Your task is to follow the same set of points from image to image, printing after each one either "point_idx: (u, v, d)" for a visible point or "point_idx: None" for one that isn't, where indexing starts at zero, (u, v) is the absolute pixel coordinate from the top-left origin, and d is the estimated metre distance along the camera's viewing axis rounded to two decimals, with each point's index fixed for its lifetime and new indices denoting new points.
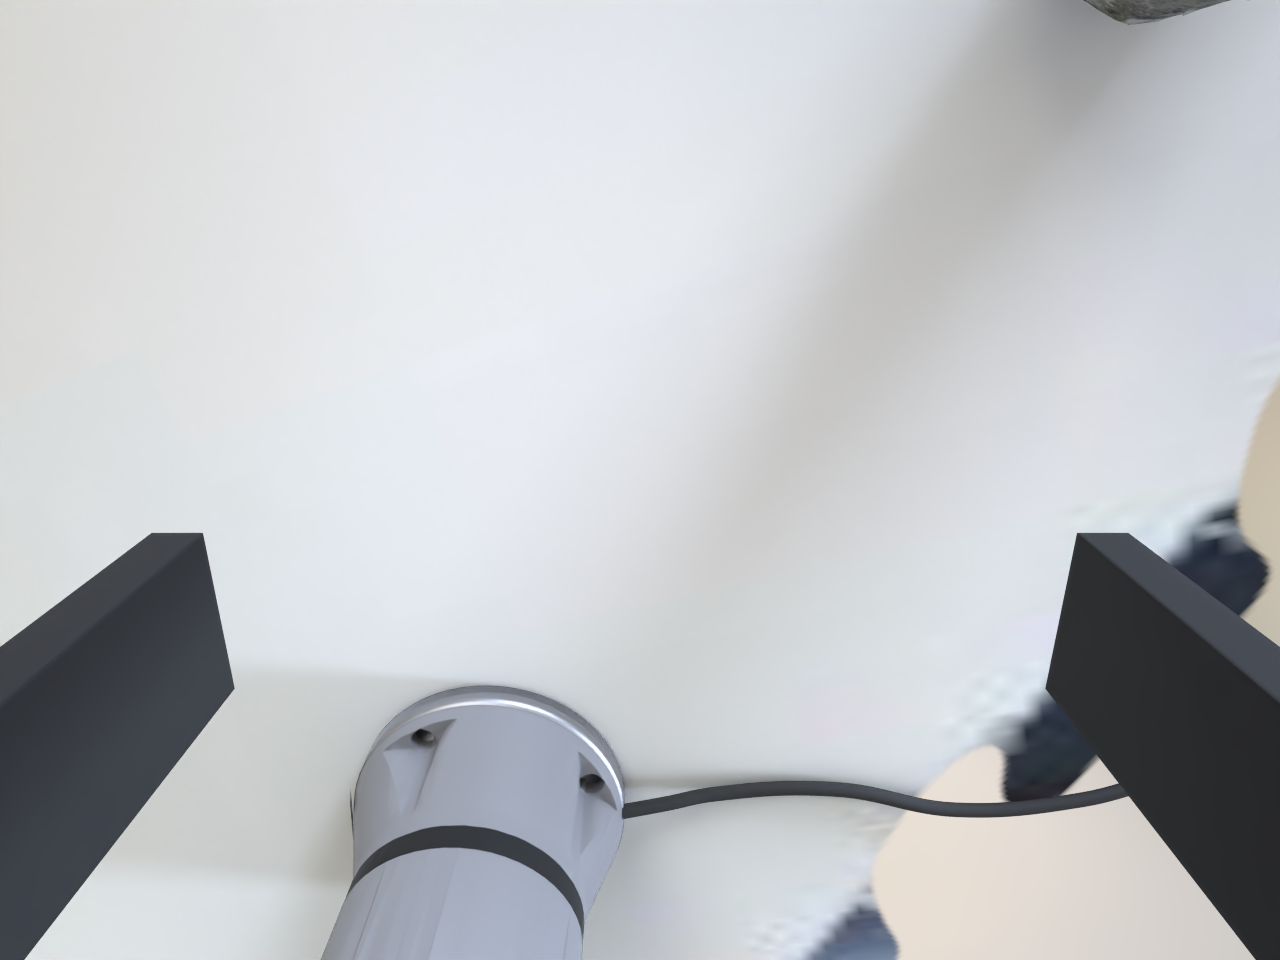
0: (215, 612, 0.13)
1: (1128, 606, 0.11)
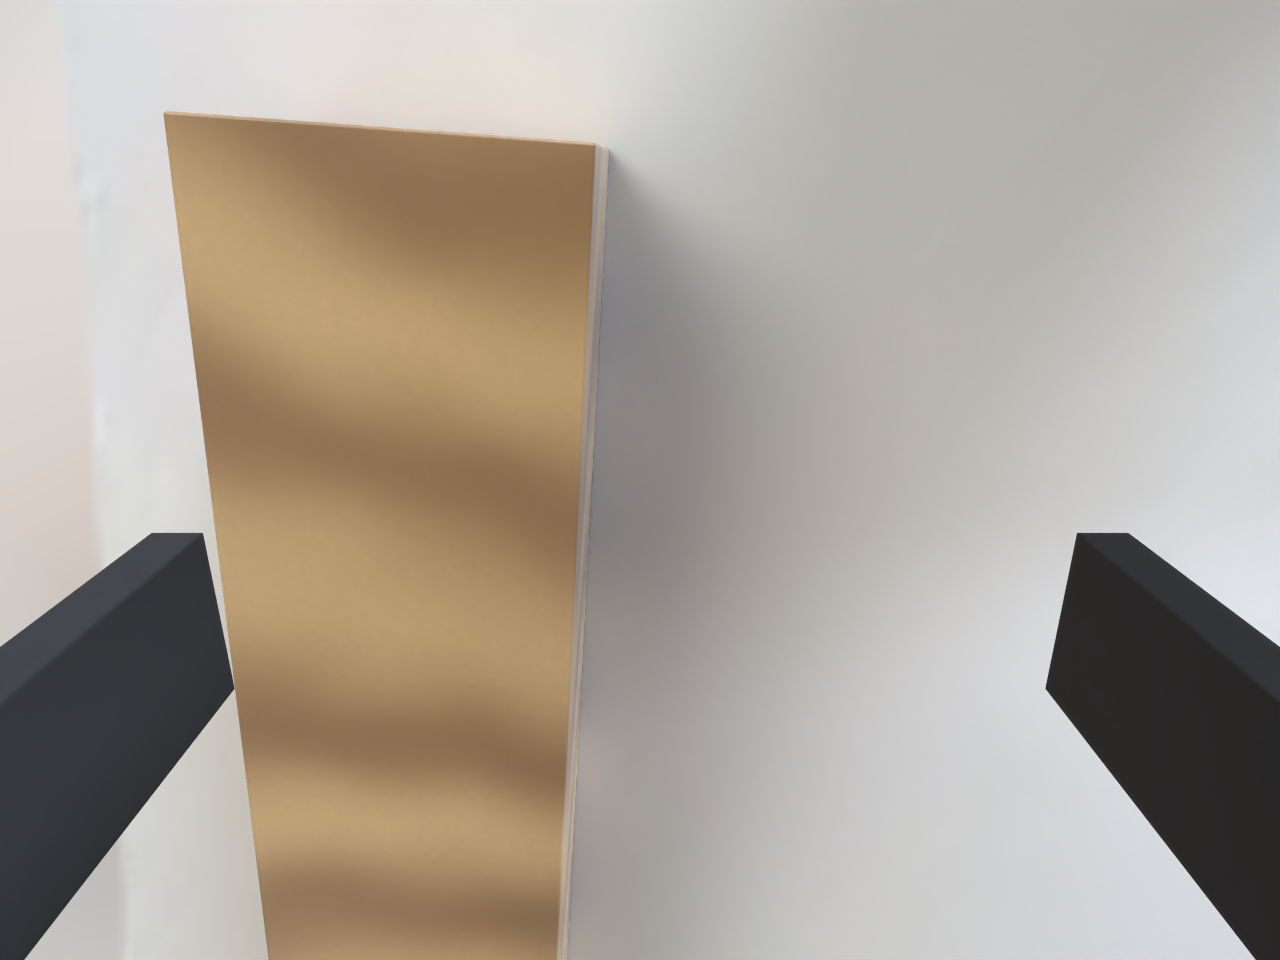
0: (215, 612, 0.13)
1: (1127, 605, 0.11)
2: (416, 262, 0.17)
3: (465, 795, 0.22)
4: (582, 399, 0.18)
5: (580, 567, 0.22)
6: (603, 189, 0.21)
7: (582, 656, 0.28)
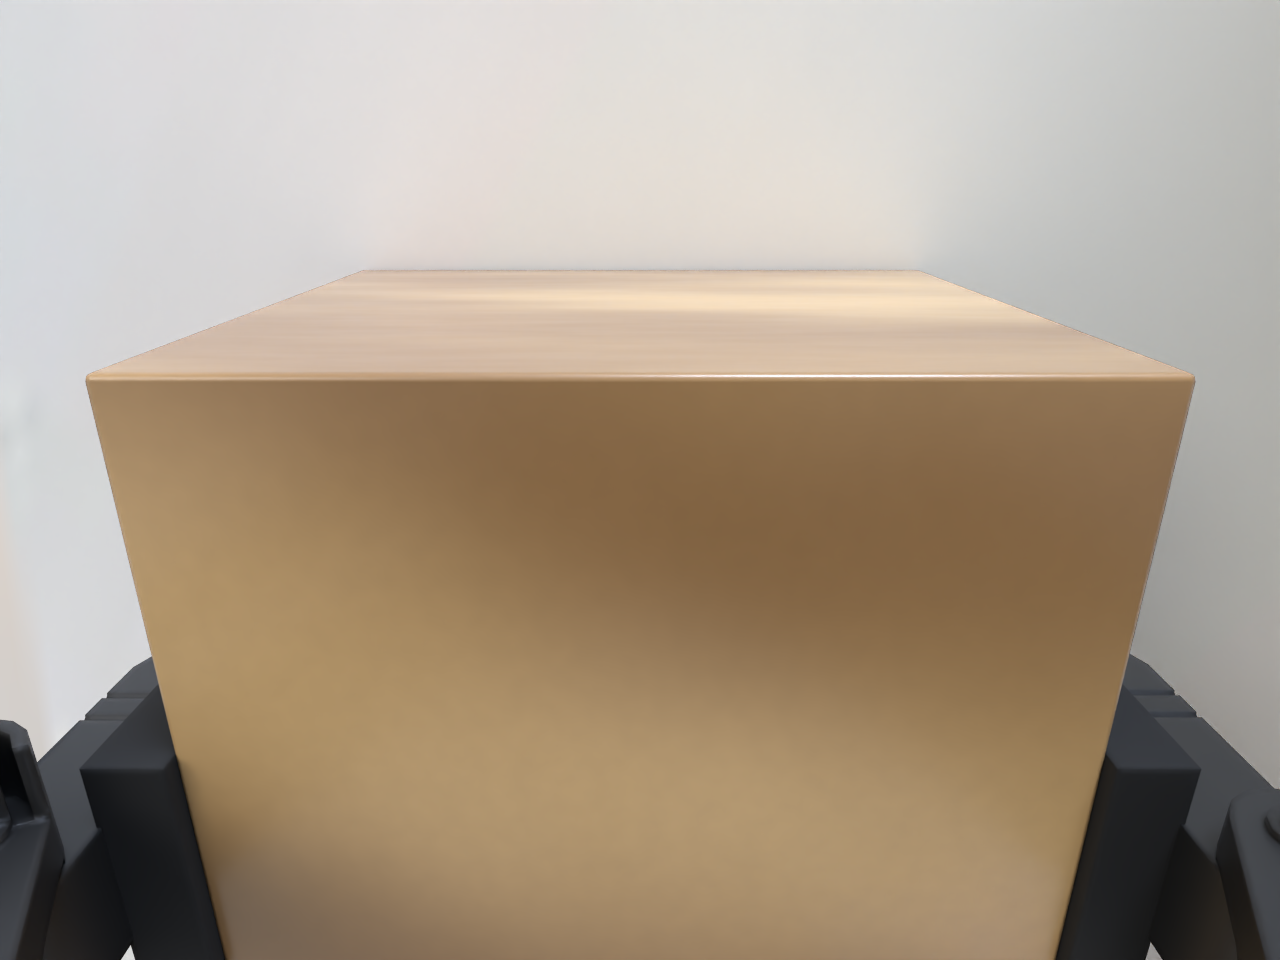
0: None
1: None
2: (714, 662, 0.07)
3: None
4: None
5: None
6: None
7: None
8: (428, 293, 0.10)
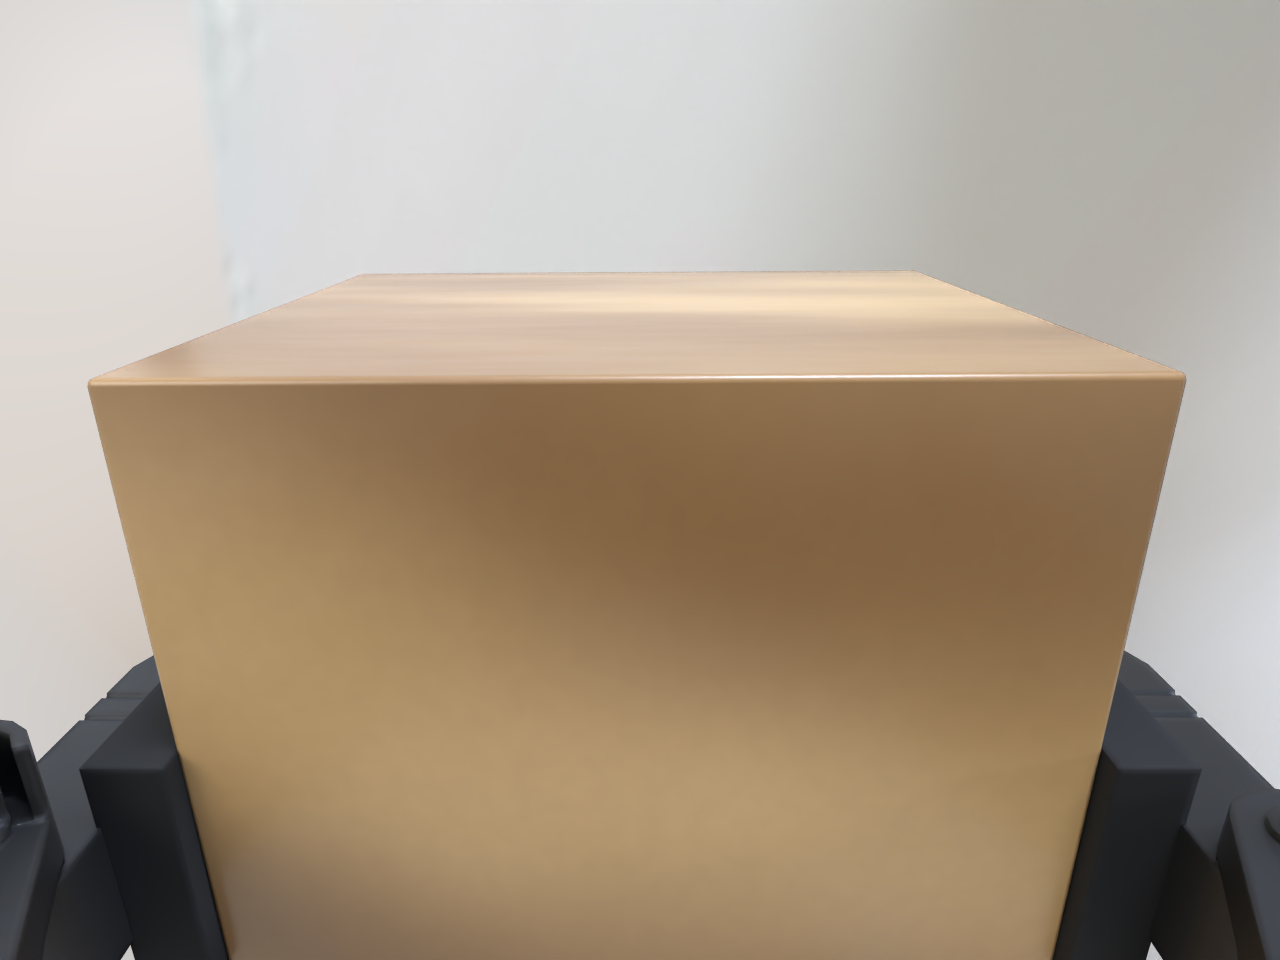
0: None
1: None
2: (711, 660, 0.07)
3: None
4: (1067, 893, 0.08)
5: None
6: None
7: None
8: (427, 296, 0.10)
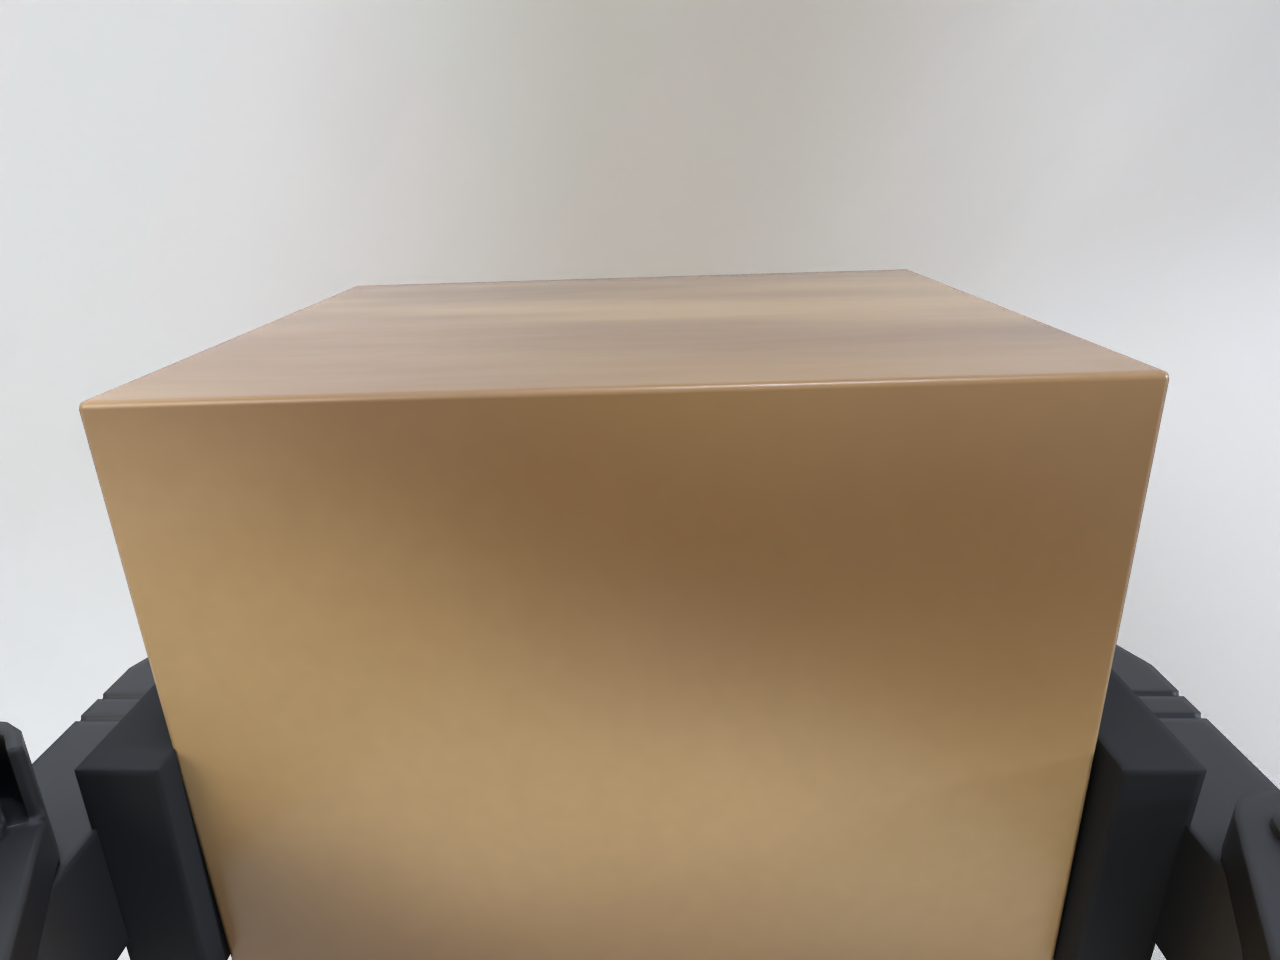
0: None
1: None
2: (704, 667, 0.07)
3: None
4: None
5: None
6: None
7: None
8: (419, 308, 0.10)
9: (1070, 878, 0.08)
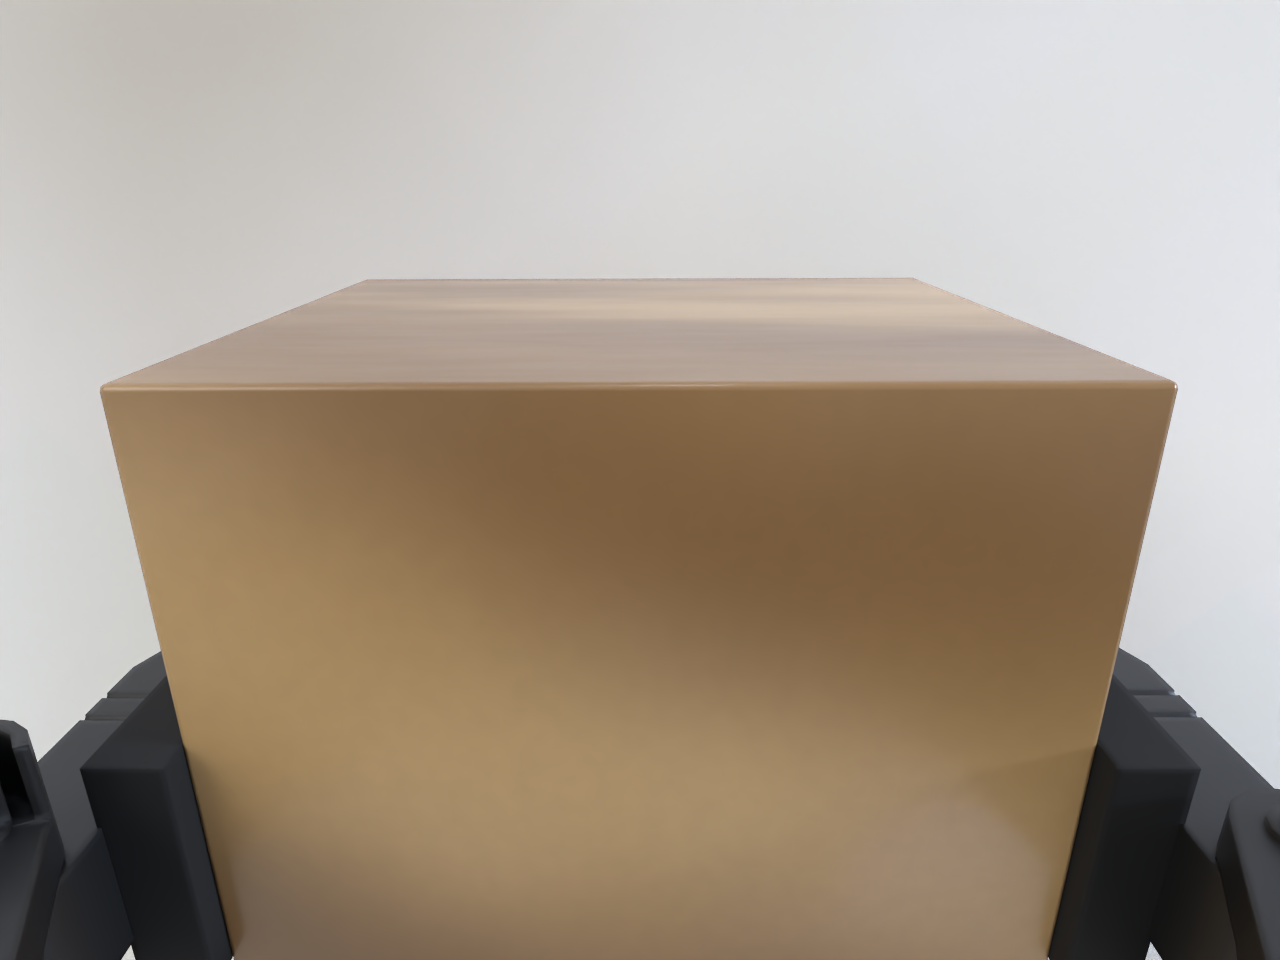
0: None
1: None
2: (712, 663, 0.07)
3: None
4: (1061, 894, 0.08)
5: None
6: None
7: None
8: (431, 303, 0.10)
9: None
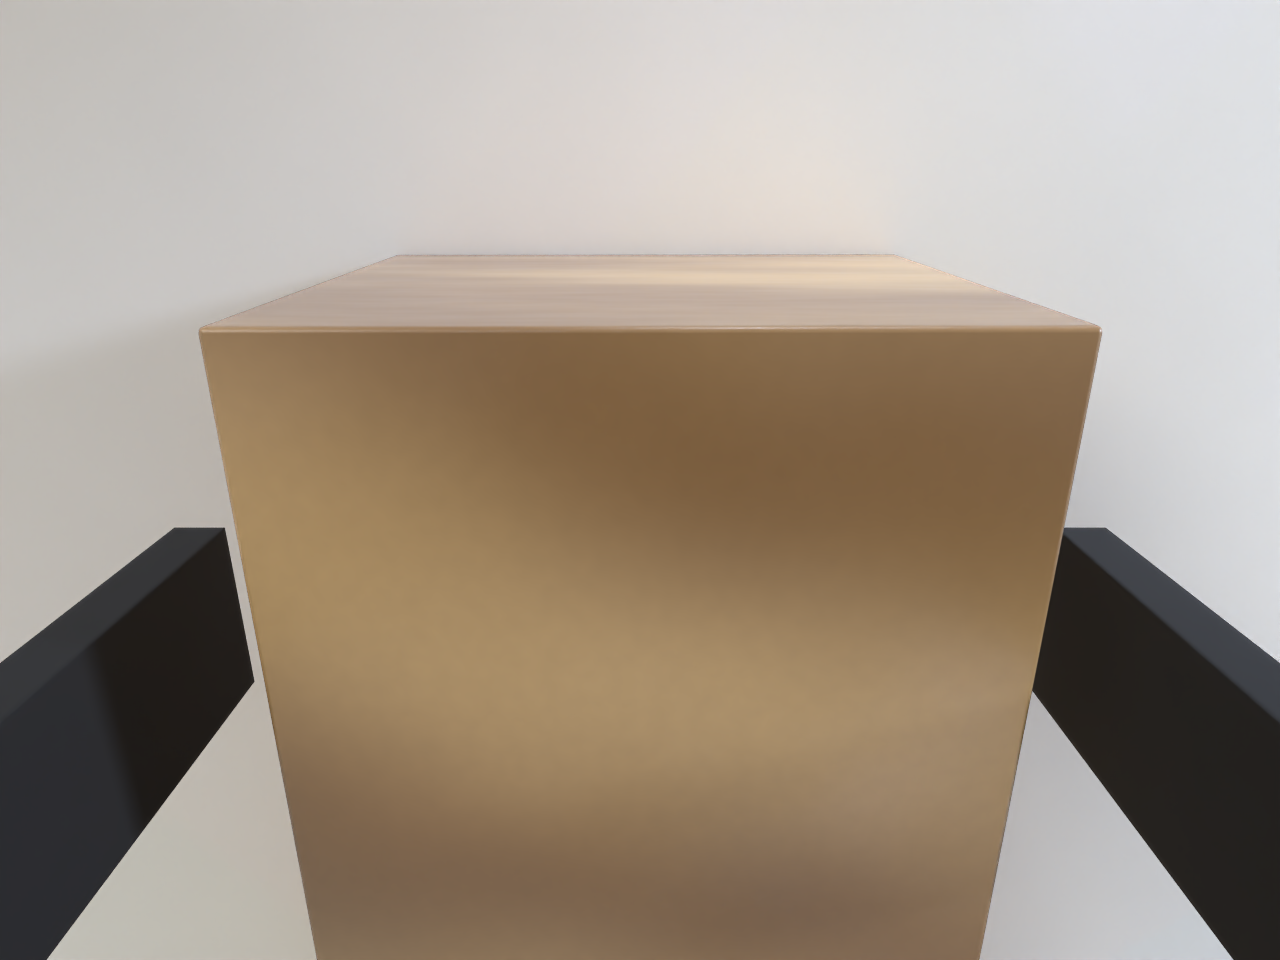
0: (236, 606, 0.13)
1: (1102, 598, 0.11)
2: (712, 571, 0.09)
3: None
4: None
5: None
6: None
7: None
8: (461, 272, 0.12)
9: None
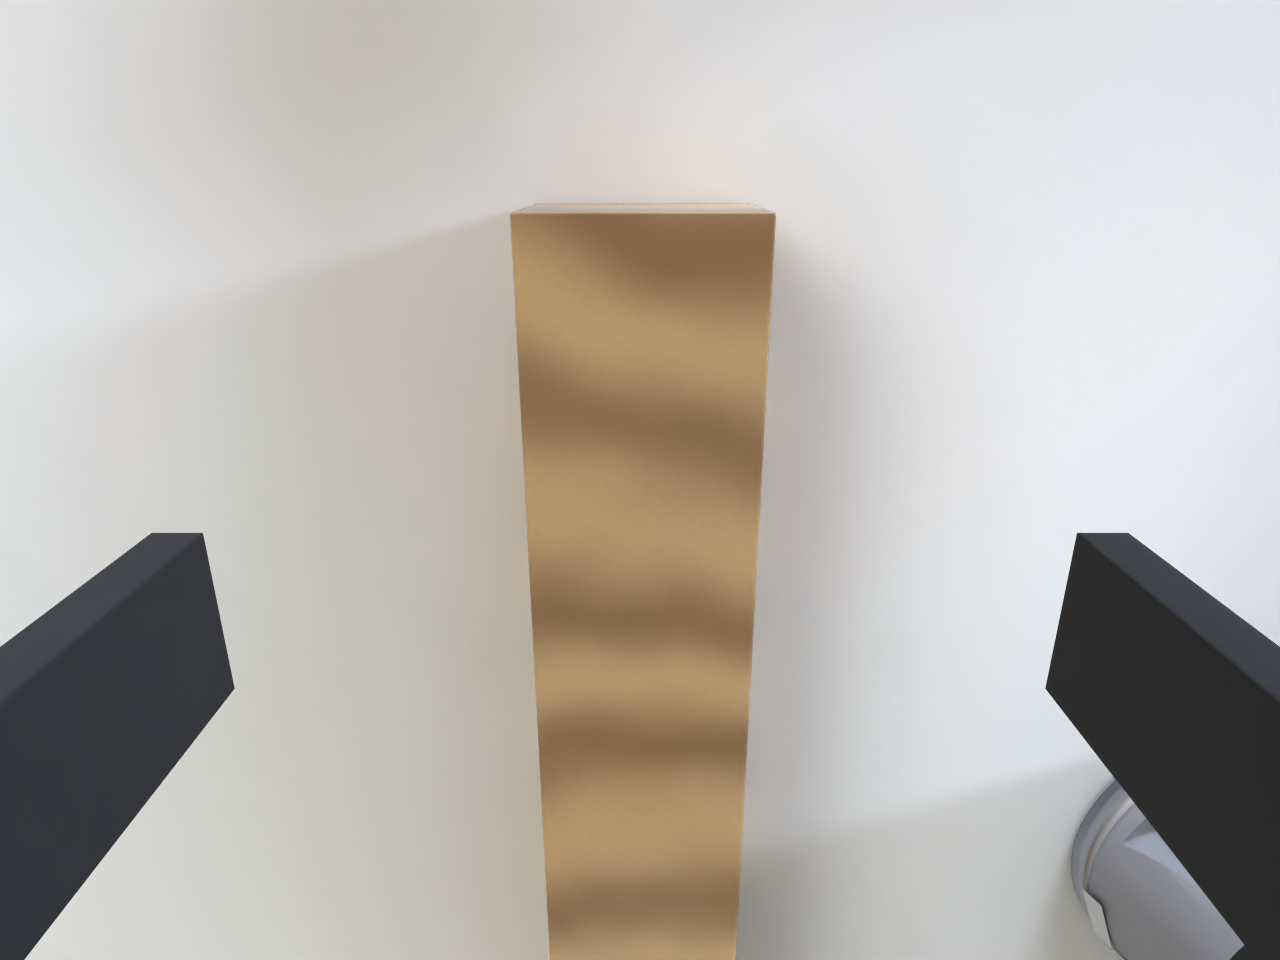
0: (215, 612, 0.13)
1: (1127, 605, 0.11)
2: (662, 293, 0.28)
3: (683, 654, 0.33)
4: (766, 373, 0.29)
5: None
6: None
7: None
8: (571, 206, 0.31)
9: None
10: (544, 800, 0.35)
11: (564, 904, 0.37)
